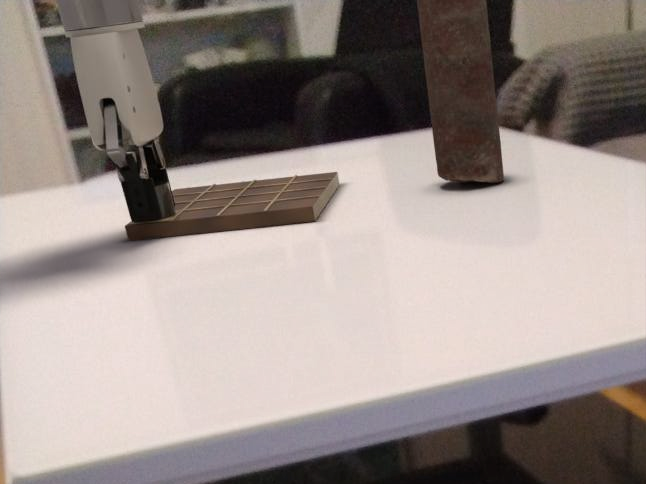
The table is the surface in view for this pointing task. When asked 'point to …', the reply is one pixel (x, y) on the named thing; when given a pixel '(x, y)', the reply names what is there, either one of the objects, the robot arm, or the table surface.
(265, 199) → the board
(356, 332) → the table surface
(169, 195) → the short grey cylinder
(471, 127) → the brown tall block
